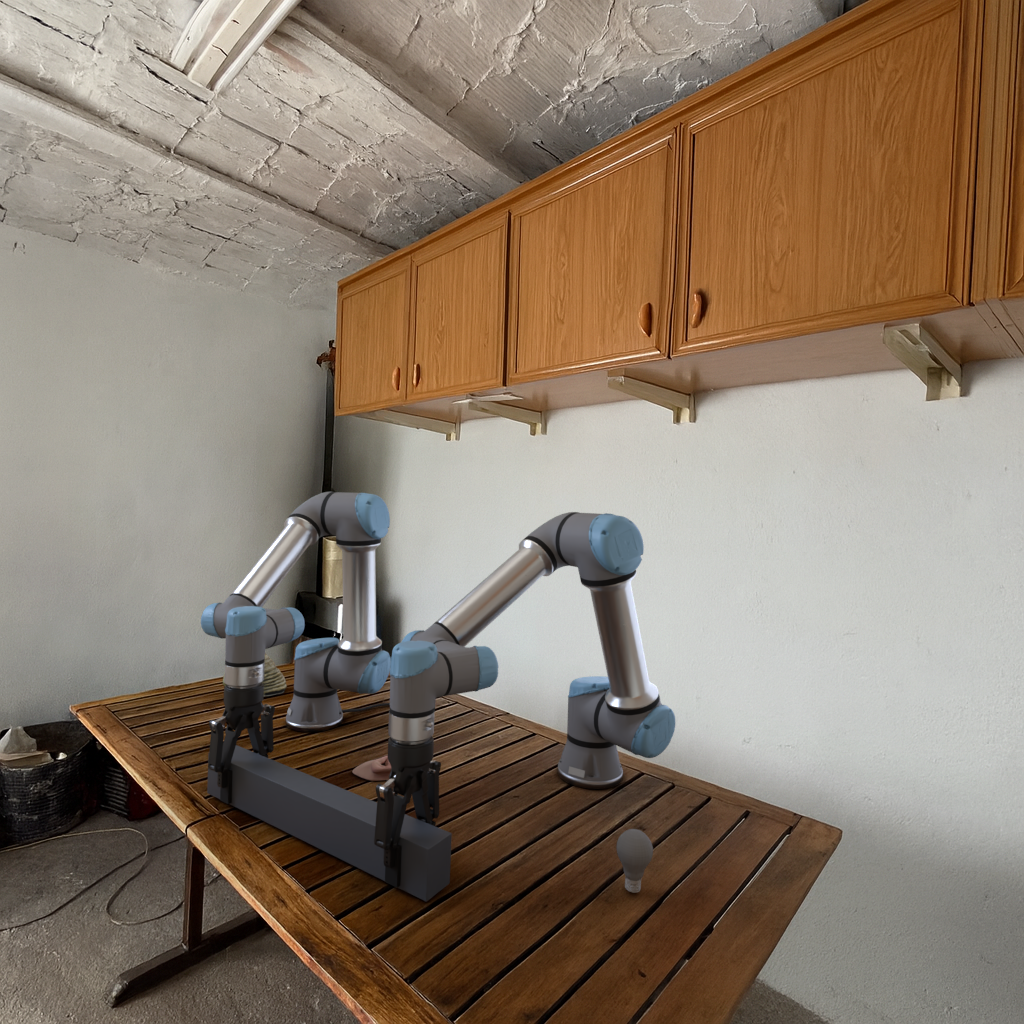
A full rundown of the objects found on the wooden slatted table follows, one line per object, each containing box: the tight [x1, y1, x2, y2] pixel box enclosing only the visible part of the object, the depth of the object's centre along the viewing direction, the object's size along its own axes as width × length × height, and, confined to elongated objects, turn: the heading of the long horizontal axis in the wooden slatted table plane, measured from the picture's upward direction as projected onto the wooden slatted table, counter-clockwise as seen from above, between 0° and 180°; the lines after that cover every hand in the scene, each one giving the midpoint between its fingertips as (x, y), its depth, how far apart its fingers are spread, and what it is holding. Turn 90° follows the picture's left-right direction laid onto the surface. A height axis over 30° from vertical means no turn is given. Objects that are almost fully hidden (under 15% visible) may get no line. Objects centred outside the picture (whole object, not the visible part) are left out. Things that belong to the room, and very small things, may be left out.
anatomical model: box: [352, 754, 391, 782], centre depth 147 cm, size 13×4×12 cm
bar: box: [206, 744, 453, 903], centre depth 118 cm, size 59×6×8 cm, turn 58°
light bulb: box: [615, 828, 654, 894], centre depth 106 cm, size 6×6×10 cm
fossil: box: [222, 652, 288, 697], centre depth 198 cm, size 9×18×15 cm, turn 132°
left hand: (240, 795), depth 130 cm, fingers closed on bar, 6 cm apart
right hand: (406, 873), depth 106 cm, fingers closed on bar, 6 cm apart
